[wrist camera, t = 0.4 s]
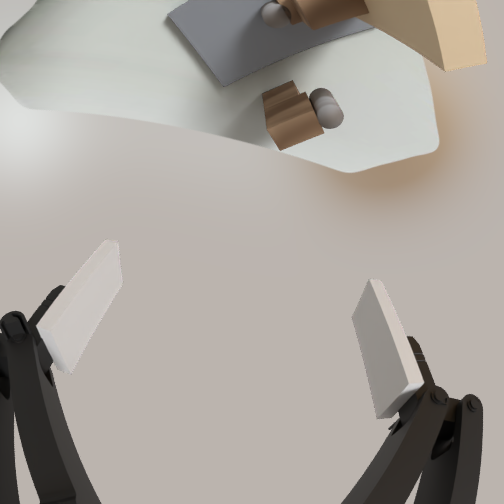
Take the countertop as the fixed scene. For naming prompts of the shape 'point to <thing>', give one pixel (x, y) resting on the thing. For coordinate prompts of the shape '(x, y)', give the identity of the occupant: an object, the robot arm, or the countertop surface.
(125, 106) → the countertop surface
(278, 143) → the brown wooden block
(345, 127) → the countertop surface
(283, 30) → the hinge frame
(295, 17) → the fixed leaf
